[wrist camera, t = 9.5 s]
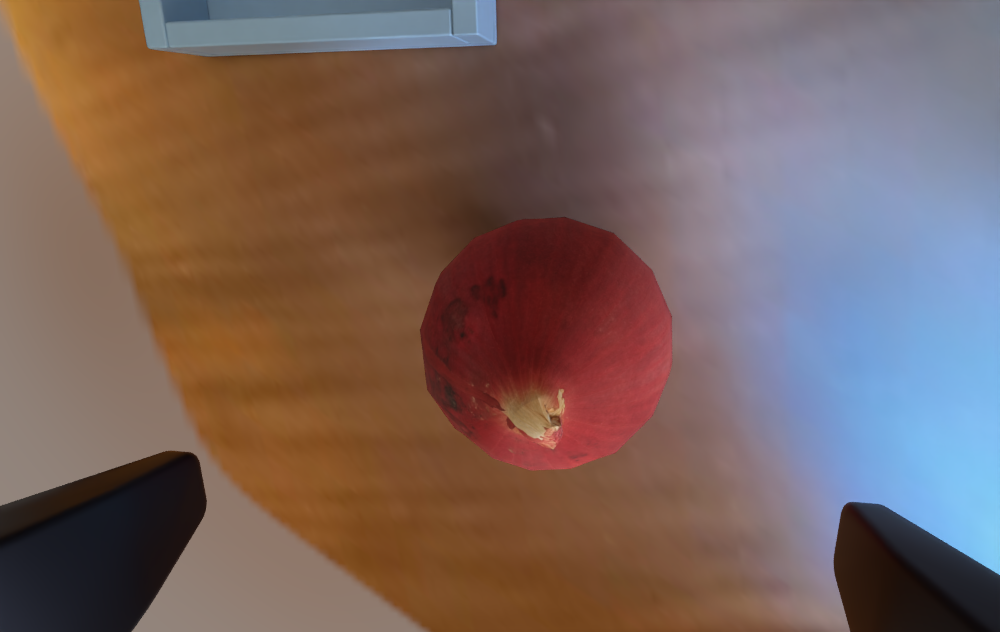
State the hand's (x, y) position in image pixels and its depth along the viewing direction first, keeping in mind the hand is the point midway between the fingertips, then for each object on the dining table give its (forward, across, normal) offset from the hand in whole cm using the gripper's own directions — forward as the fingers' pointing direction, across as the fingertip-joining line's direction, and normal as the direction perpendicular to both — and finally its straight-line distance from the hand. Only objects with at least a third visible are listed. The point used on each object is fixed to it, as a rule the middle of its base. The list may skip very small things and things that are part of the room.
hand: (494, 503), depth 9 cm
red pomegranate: (+11, 0, 0) cm, 11 cm away
